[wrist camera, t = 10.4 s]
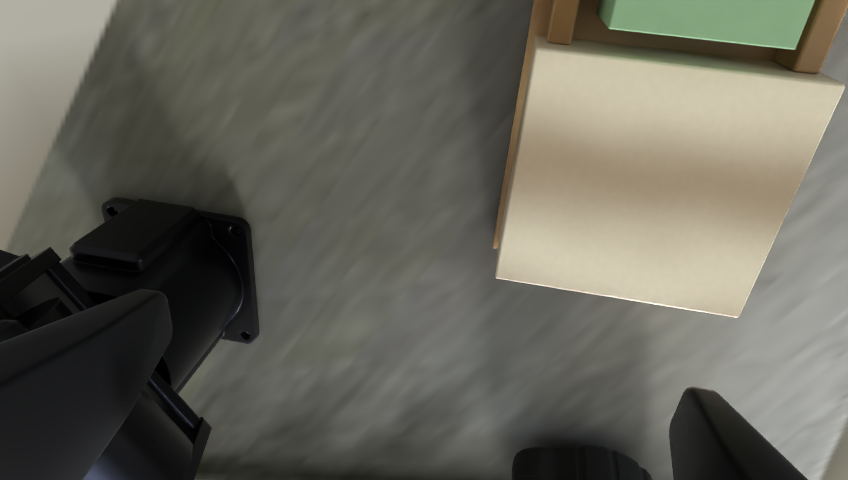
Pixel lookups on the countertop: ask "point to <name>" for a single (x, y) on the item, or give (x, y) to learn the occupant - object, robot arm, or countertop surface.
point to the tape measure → (575, 464)
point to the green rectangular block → (712, 19)
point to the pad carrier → (657, 157)
